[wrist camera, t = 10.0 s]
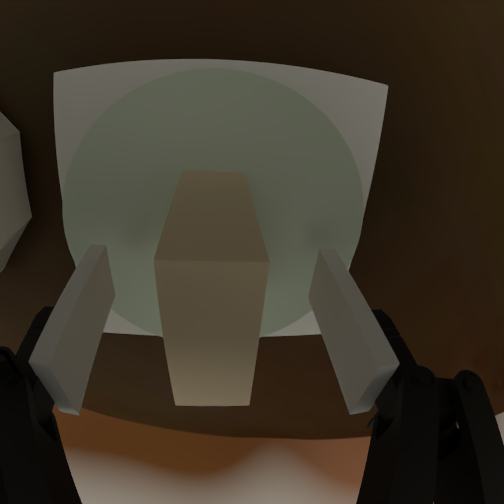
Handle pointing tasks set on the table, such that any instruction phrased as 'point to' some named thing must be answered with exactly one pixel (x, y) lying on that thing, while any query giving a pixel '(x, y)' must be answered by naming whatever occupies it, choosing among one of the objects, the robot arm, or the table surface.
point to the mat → (297, 78)
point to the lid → (212, 217)
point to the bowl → (11, 190)
